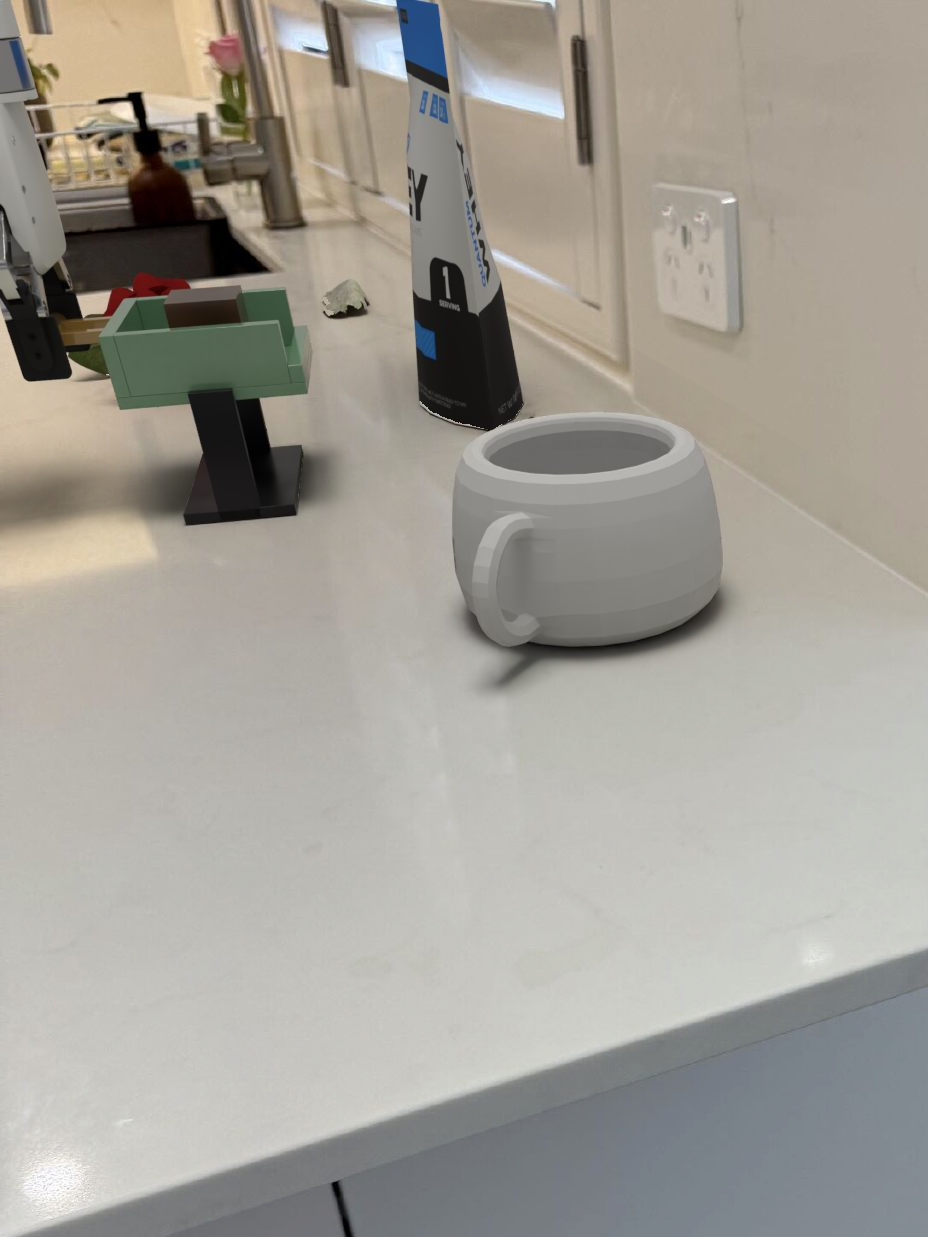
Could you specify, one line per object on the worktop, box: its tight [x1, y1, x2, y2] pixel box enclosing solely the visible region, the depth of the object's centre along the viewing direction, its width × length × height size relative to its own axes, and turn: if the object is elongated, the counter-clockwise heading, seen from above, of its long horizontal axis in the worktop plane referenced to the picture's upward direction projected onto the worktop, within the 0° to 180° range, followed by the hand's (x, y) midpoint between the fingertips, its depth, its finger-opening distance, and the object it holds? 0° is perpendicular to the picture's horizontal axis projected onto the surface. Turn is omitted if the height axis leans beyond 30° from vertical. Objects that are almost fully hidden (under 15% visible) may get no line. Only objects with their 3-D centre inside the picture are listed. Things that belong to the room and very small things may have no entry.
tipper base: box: [182, 388, 304, 526], centre depth 103 cm, size 8×16×9 cm, turn 13°
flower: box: [67, 271, 192, 376], centre depth 136 cm, size 16×11×30 cm
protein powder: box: [395, 0, 524, 431], centre depth 116 cm, size 10×24×30 cm, turn 19°
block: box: [163, 284, 249, 328], centre depth 99 cm, size 5×5×5 cm
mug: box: [451, 411, 724, 648], centre depth 81 cm, size 21×17×10 cm
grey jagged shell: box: [322, 278, 370, 315], centre depth 158 cm, size 12×5×4 cm
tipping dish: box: [49, 286, 314, 411], centre depth 99 cm, size 18×13×5 cm
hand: (59, 363), depth 98 cm, fingers closed on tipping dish, 7 cm apart
